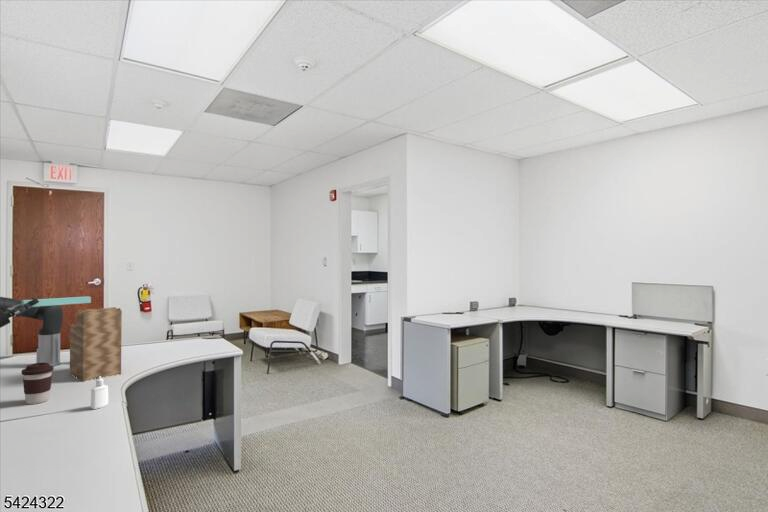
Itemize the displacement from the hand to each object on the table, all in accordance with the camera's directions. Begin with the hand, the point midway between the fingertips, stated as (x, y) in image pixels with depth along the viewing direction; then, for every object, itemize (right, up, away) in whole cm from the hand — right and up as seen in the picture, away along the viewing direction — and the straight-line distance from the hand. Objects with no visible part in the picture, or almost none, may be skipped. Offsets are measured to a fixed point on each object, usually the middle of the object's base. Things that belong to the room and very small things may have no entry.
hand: (36, 299), depth 191 cm
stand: (+18, -39, +14) cm, 45 cm away
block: (+5, -3, +6) cm, 9 cm away
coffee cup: (+23, -39, -26) cm, 52 cm away
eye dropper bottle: (+52, -39, -32) cm, 72 cm away
